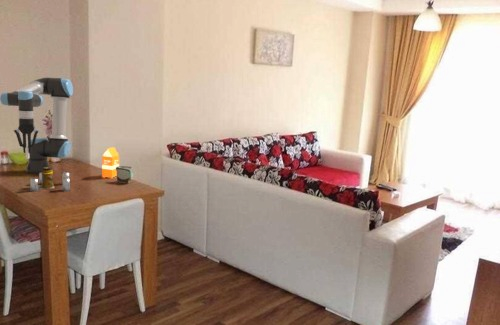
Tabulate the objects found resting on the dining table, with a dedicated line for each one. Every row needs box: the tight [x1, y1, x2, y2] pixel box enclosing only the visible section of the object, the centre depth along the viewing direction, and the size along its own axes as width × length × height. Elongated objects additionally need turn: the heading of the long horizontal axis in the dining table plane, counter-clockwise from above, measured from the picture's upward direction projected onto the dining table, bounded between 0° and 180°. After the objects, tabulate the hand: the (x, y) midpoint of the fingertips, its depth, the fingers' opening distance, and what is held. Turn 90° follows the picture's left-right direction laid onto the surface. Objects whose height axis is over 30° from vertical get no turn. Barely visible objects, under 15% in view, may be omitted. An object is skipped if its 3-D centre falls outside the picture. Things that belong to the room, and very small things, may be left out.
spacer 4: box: [61, 177, 71, 192], centre depth 250 cm, size 4×4×7 cm
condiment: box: [38, 166, 56, 190], centre depth 254 cm, size 7×8×12 cm
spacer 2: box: [38, 172, 42, 186], centre depth 261 cm, size 4×4×7 cm
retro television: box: [115, 165, 133, 185], centre depth 279 cm, size 12×6×10 cm, turn 65°
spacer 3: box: [61, 171, 70, 180], centre depth 265 cm, size 4×4×7 cm
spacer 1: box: [29, 177, 39, 193], centre depth 246 cm, size 4×4×7 cm
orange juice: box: [101, 146, 120, 179], centre depth 290 cm, size 8×9×20 cm
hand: (27, 158), depth 249 cm, fingers closed
